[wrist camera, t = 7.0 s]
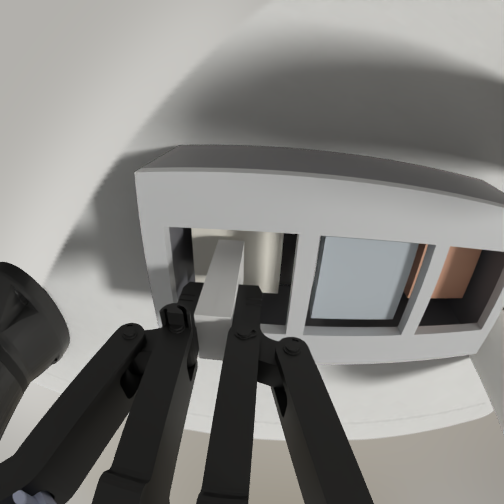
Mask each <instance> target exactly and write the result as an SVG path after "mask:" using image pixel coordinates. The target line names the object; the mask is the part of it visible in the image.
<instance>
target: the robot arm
mask: <svg viewBox="0 0 504 504" xmlns="http://www.w3.org/2000/svg"><path fill="white" fill-rule="evenodd" d="M243 280H244V241H239V240H221V239H219V240H218V243H217V246H216V249H215V252H214V255H213V258H212V261H211V264H210V267H209V270H208V273H207V276H206V279H205V282H204V283H203V282H189V283H187V284H186V285H185V286H184V287H183V289H182V292H181V295H180V297H179V300H178V302H177V303H171V304H167V305H165V306H164V307H162V308H161V310H160V311H159V313H160V317H161V322H162V327H161V328H158V329H153V330H145V331H144V329H143V328H142V326H140V325H139V324H136V323H128V324H125V325H122V326H121V327H120V328H118V329H117V330H116V332H115V333H114V334H113V335H112V336H111V337H110V338H109V339H108V341H107V342H106V343H105V344H104V345H103V346H102V347H101V349H100V350H99V351H98V352H97V353H96V354H95V355H94V357H93V358H92V359H91V360H90V361H89V362H88V363H87V365H86V366H85V367H84V368H83V369H82V370H81V372H80V373H79V374H78V375H77V376H76V378H75V379H74V380H73V381H72V382H71V383H70V385H69V386H68V387H67V388H66V389H65V391H64V392H63V393H62V394H61V396H60V397H59V398H58V399H57V400H56V402H55V403H54V404H53V405H52V407H51V408H50V409H49V410H48V412H47V413H46V414H45V415H44V417H43V418H42V419H41V420H40V422H39V423H38V424H37V425H36V427H35V428H34V429H33V430H32V432H31V433H30V435H29V436H28V437H27V438H26V440H25V441H24V442H23V443H22V445H21V446H20V447H19V449H18V450H17V452H16V453H15V454H14V455H13V456H11V457H10V458H8V459H7V460H5V461H4V462H2V463H0V504H65V503H66V502H67V501H68V500H69V499H70V498H71V497H72V496H73V495H74V494H75V492H76V491H77V490H78V488H79V487H80V485H81V484H82V482H83V481H84V479H85V477H86V476H87V474H88V473H89V471H90V470H91V468H92V467H93V465H94V464H95V462H96V461H97V459H98V458H99V456H100V455H101V453H102V451H103V450H104V448H105V447H106V446H107V444H108V443H109V441H110V440H111V438H112V437H113V435H114V434H115V432H116V431H117V429H118V428H119V426H120V425H121V424H122V422H123V421H124V419H125V417H126V416H127V415H128V413H129V415H128V418H127V421H126V424H125V427H124V430H123V432H122V436H121V438H120V442H119V445H118V448H117V451H116V454H115V457H114V460H113V463H112V466H111V468H110V469H109V470H107V471H105V472H103V474H102V475H101V477H100V479H99V481H98V484H97V488H96V491H95V494H94V498H93V501H92V504H170V502H169V496H170V489H171V485H172V480H173V475H174V470H175V466H176V461H177V456H178V452H179V447H180V442H181V438H182V433H183V429H184V424H185V420H186V415H187V411H188V406H189V402H190V397H191V393H192V389H193V384H194V380H195V376H196V372H197V356H198V352H199V357H200V358H204V359H213V360H223V364H222V369H221V375H220V381H219V387H218V393H217V399H216V404H215V410H214V416H213V422H212V428H211V434H210V441H209V447H208V453H207V459H206V465H205V471H204V477H203V483H202V489H201V492H200V493H199V495H198V498H197V503H196V504H248V498H249V484H250V472H251V459H252V446H253V432H254V418H255V404H256V389H257V382H260V383H263V384H266V385H269V386H271V390H272V393H273V397H274V400H275V404H276V407H277V411H278V414H279V418H280V421H281V425H282V428H283V432H284V435H285V439H286V442H287V445H288V449H289V452H290V455H291V459H292V463H293V466H294V469H295V473H296V476H297V479H298V483H299V486H300V489H301V493H302V496H303V499H304V503H305V504H374V503H373V500H372V498H371V495H370V493H369V490H368V488H367V486H366V483H365V481H364V478H363V476H362V473H361V471H360V468H359V466H358V463H357V461H356V459H355V456H354V454H353V451H352V449H351V446H350V444H349V442H348V439H347V437H346V434H345V432H344V430H343V427H342V425H341V422H340V420H339V418H338V415H337V413H336V411H335V408H334V406H333V403H332V401H331V399H330V396H329V394H328V392H327V389H326V387H325V385H324V382H323V380H322V377H321V375H320V373H319V370H318V368H317V366H316V363H315V361H314V359H313V356H312V354H311V352H310V349H309V347H308V345H307V344H306V343H305V341H303V340H301V339H300V338H296V337H286V338H282V339H281V340H280V341H276V340H273V339H270V338H268V337H267V336H265V335H264V334H263V333H262V331H261V328H260V322H261V304H262V291H261V289H260V288H259V286H258V285H243ZM69 342H70V337H69V331H68V328H67V325H66V323H65V320H64V318H63V316H62V314H61V313H60V311H59V309H58V308H57V306H56V305H55V303H54V302H53V300H52V299H51V298H50V296H49V295H48V294H47V293H46V292H45V290H44V289H43V288H42V287H41V286H40V285H39V284H38V283H37V282H36V281H35V280H34V279H33V278H32V277H31V276H29V275H28V274H27V273H25V272H24V271H23V270H22V269H20V268H18V267H17V266H14V265H12V264H10V263H7V262H0V440H1V438H2V435H3V433H4V431H5V429H6V427H7V425H8V423H9V421H10V419H11V417H12V415H13V413H14V411H15V409H16V407H17V405H18V403H19V401H20V399H21V398H22V396H23V394H24V392H25V390H26V389H27V387H28V385H29V384H30V382H31V381H33V380H34V379H35V378H37V377H38V376H39V375H40V374H42V373H43V372H44V371H45V370H46V369H48V368H49V367H50V366H51V365H52V364H55V363H56V362H58V361H59V360H60V359H61V358H62V356H63V354H64V353H65V351H66V349H67V348H68V346H69Z"/></svg>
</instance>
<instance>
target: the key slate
mask: <svg viewBox="0 0 504 504" xmlns="http://www.w3.org/2000/svg"><path fill="white" fill-rule="evenodd" d="M418 246H419V243H409V242H397V241H385V240H373V239H360V238H347V237H334V236H321V240H320V247H319V253H318V259H317V265H316V271H315V277H314V283H313V288H312V294H311V299H310V304H309V307H310V315H311V318H323V319H393V317H394V315H395V312H396V310H397V307H398V304H399V302H400V299H401V296H402V294H403V291H404V288H405V285H406V283H407V280H408V277H409V274H410V271H411V268H412V265H413V262H414V259H415V255H416V252H417V249H418Z"/></svg>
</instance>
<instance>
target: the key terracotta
mask: <svg viewBox="0 0 504 504" xmlns="http://www.w3.org/2000/svg"><path fill="white" fill-rule="evenodd" d="M427 246H428V244H420V243H419V246H418V249H417V252H416V255H415V259H414V262H413V265H412V268H411V271H410V274H409V277H408V280H407V283H406V285H405V288H404V293H405V295H406V297H407V298H410V296H411V293H412V290H413V288H414V285H415V282H416V279H417V277H418V274H419V271H420V268H421V265H422V262H423V259H424V256H425V253H426V250H427ZM481 251H482V249H472V248H463V247H452V246H450V248H449V251H448V254H447V257H446V260H445V262H444V265H443V268H442V271H441V273H440V276H439V279H438V281H437V284H436V286H435V289H434V291H433V294H432V296H431V298H462V297H463V295H464V293H465V291H466V289H467V286H468V284H469V282H470V279H471V277H472V274H473V272H474V269H475V267H476V264H477V262H478V259H479V257H480V254H481Z"/></svg>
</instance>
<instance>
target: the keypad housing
mask: <svg viewBox="0 0 504 504" xmlns="http://www.w3.org/2000/svg"><path fill="white" fill-rule="evenodd" d="M134 174H135V185H136V194H137V203H138V211H139V219H140V227H141V234H142V241H143V247H144V253H145V259H146V265H147V271H148V277H149V282H150V287H151V292H152V297H153V302H154V307H155V312H156V316H157V321H158V325H159V328H161V327H162V322H161V317H160V313H159V311H160V310H161V308H162V307H164V306H165V305H167V304H171V303H177V302H178V300H179V297H180V295H181V292H182V289H183V287H184V286H185V285H186V284H187V283H189V282H195V271H194V259H193V245H192V230H191V228H203V229H222V230H241V231H258V232H275V233H290V234H297V241H296V249H295V258H294V266H293V274H292V282H291V285H281V284H279V289H278V294H276V293H262V304H261V322H260V328H261V331H262V333H263V334H264V335H265V336H267V337H268V338H270V339H273V340H276V341H280V340H281V339H282V338H286V337H296V338H300V339H301V340H303V341H305V343H306V344H307V345H308V347H309V349H310V352H311V354H312V356H313V359H314V361H315V363H316V365H343V364H377V363H395V362H409V361H421V360H431V359H440V358H449V357H456V356H464V355H471V354H476V353H477V351H478V350H479V348H480V347H481V345H482V344H483V342H484V340H485V339H486V337H487V335H488V334H489V332H490V330H491V329H492V327H493V325H494V323H495V322H496V320H497V318H498V316H499V314H500V313H501V311H502V309H503V307H504V193H503V192H502V191H500V190H498V189H497V188H495V187H493V186H492V185H490V184H488V183H487V182H485V181H483V180H480V179H476V178H473V177H469V176H465V175H461V174H457V173H452V172H448V171H444V170H439V169H435V168H430V167H425V166H420V165H415V164H410V163H404V162H399V161H393V160H387V159H381V158H374V157H368V156H361V155H353V154H346V153H337V152H328V151H319V150H308V149H297V148H283V147H267V146H244V145H179V146H178V147H176V148H174V149H172V150H171V151H169V152H167V153H165V154H164V155H162V156H160V157H159V158H157V159H155V160H154V161H152V162H150V163H149V164H147V165H145V166H144V167H142V168H140V169H139V170H137V171H136V172H134ZM320 236H334V237H347V238H360V239H373V240H385V241H397V242H409V243H420V244H428V246H427V250H426V253H425V256H424V259H423V262H422V265H421V268H420V271H419V274H418V277H417V279H416V282H415V285H414V288H413V290H412V293H411V296H410V298H407V297H406V295H405V293H404V291H403V294H402V296H401V299H400V302H399V304H398V307H397V310H396V312H395V315H394V317H393V319H323V318H311V315H310V307H309V304H310V299H311V294H312V288H313V286H312V283H313V278H314V272H315V266H316V260H317V254H318V247H319V241H320ZM450 246H452V247H463V248H472V249H482V251H481V254H480V257H479V259H478V262H477V264H476V267H475V269H474V272H473V274H472V277H471V279H470V282H469V284H468V286H467V289H466V291H465V293H464V295H463V297H462V298H431V296H432V294H433V291H434V289H435V286H436V284H437V281H438V279H439V276H440V273H441V271H442V268H443V265H444V262H445V260H446V257H447V254H448V251H449V248H450ZM197 357H199V352H198V356H197Z"/></svg>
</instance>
